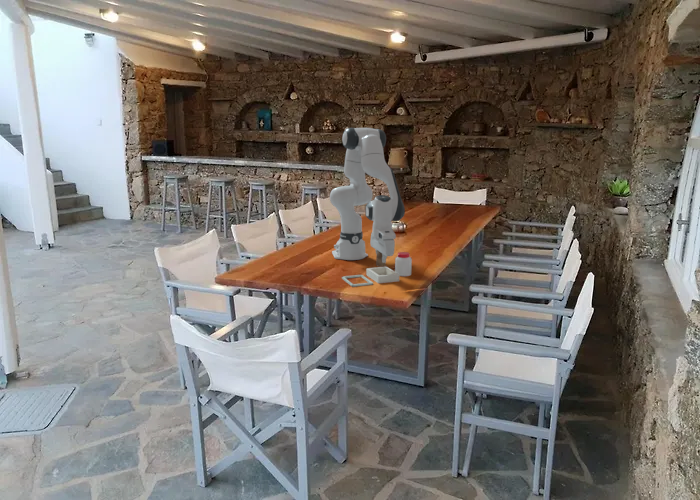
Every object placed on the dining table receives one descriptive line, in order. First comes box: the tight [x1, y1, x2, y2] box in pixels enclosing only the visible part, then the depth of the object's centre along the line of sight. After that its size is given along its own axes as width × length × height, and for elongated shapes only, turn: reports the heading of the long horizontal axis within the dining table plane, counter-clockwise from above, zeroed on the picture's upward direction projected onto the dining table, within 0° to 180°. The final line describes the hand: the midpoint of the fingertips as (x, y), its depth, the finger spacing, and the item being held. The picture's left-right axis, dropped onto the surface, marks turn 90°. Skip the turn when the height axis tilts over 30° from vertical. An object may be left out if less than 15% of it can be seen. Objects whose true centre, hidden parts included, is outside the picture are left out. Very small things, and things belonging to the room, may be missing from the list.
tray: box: [341, 274, 374, 288], centre depth 244 cm, size 14×10×2 cm
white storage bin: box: [365, 266, 400, 284], centre depth 248 cm, size 14×10×4 cm
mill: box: [375, 251, 387, 267], centre depth 247 cm, size 4×4×6 cm
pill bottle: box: [394, 251, 413, 277], centre depth 254 cm, size 8×8×11 cm
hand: (381, 260), depth 247 cm, fingers closed on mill, 4 cm apart
